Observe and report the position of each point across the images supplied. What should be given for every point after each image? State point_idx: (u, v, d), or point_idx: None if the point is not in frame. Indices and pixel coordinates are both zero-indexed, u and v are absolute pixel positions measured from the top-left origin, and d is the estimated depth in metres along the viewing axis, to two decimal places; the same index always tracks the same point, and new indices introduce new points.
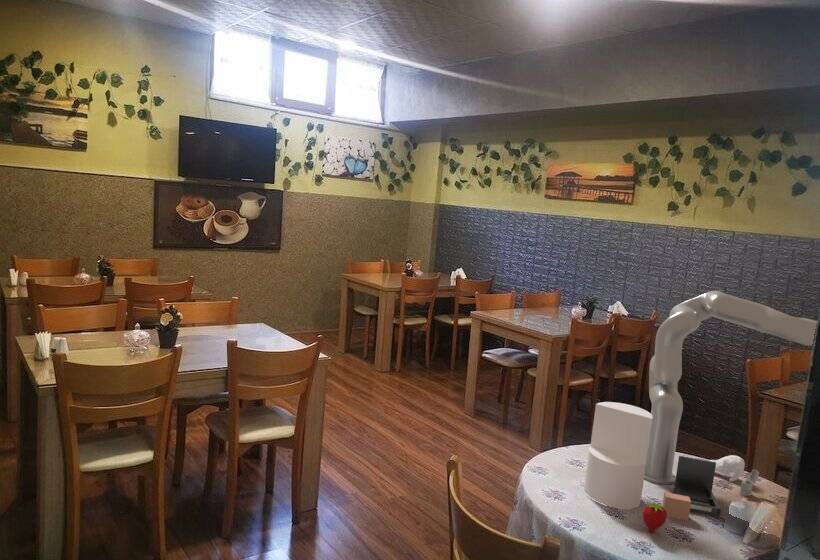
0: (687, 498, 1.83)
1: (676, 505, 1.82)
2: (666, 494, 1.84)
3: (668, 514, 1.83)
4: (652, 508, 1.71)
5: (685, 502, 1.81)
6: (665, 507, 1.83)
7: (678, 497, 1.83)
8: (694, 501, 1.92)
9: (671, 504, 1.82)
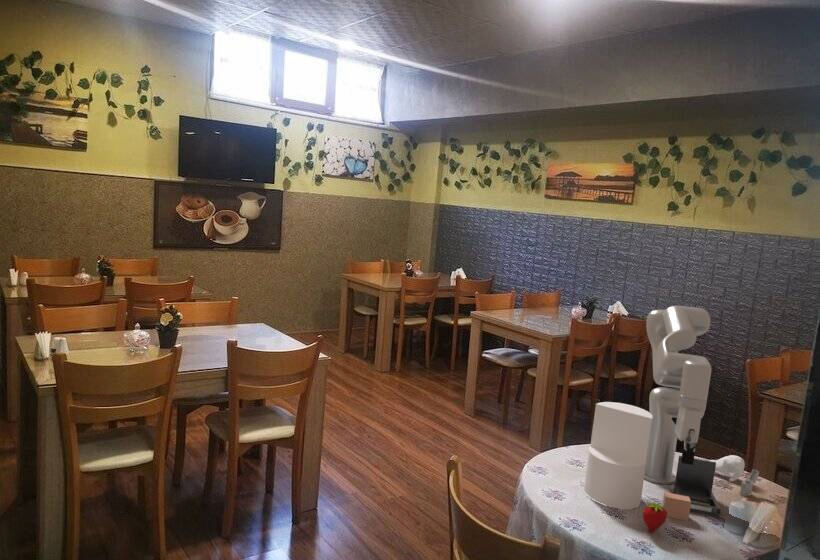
0: (687, 498, 1.83)
1: (676, 505, 1.82)
2: (666, 494, 1.84)
3: (668, 514, 1.83)
4: (652, 508, 1.71)
5: (685, 502, 1.81)
6: (665, 507, 1.83)
7: (678, 497, 1.83)
8: (694, 501, 1.92)
9: (671, 504, 1.82)
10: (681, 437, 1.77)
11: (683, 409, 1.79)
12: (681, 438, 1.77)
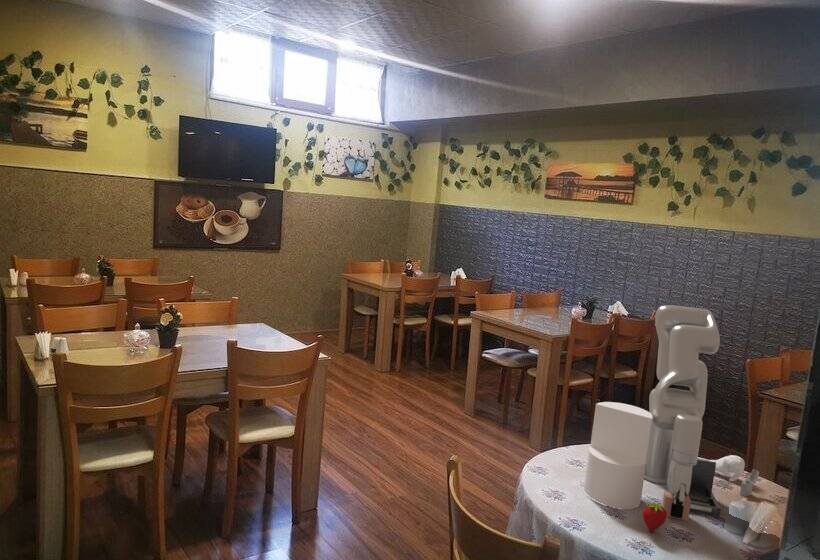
0: (687, 498, 1.83)
1: None
2: (666, 494, 1.84)
3: (668, 514, 1.83)
4: (652, 508, 1.71)
5: (685, 502, 1.81)
6: (665, 507, 1.83)
7: (678, 497, 1.83)
8: (694, 501, 1.92)
9: (671, 503, 1.82)
10: (672, 491, 1.79)
11: (674, 463, 1.81)
12: (672, 492, 1.79)
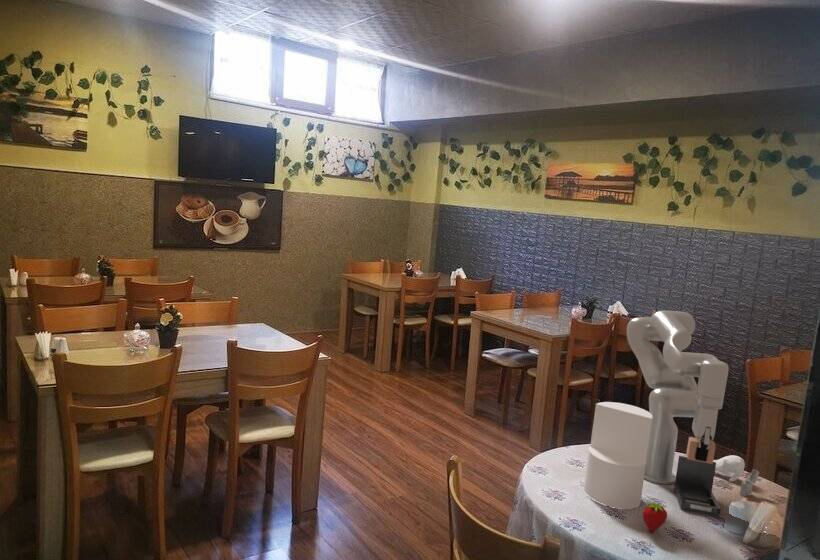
0: (711, 442, 1.86)
1: None
2: (691, 438, 1.88)
3: (693, 458, 1.86)
4: (652, 508, 1.71)
5: (709, 446, 1.84)
6: (690, 451, 1.86)
7: None
8: (694, 501, 1.92)
9: (696, 447, 1.86)
10: (697, 434, 1.82)
11: (699, 407, 1.84)
12: (697, 435, 1.82)
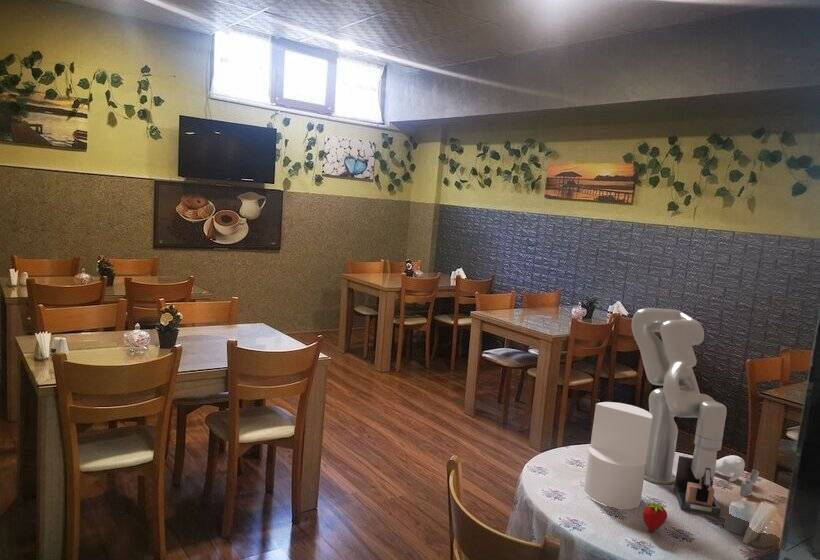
0: (710, 487, 1.89)
1: None
2: (690, 484, 1.90)
3: None
4: (652, 508, 1.71)
5: None
6: (689, 496, 1.89)
7: None
8: None
9: (695, 493, 1.88)
10: (697, 475, 1.85)
11: (699, 448, 1.87)
12: (697, 476, 1.85)
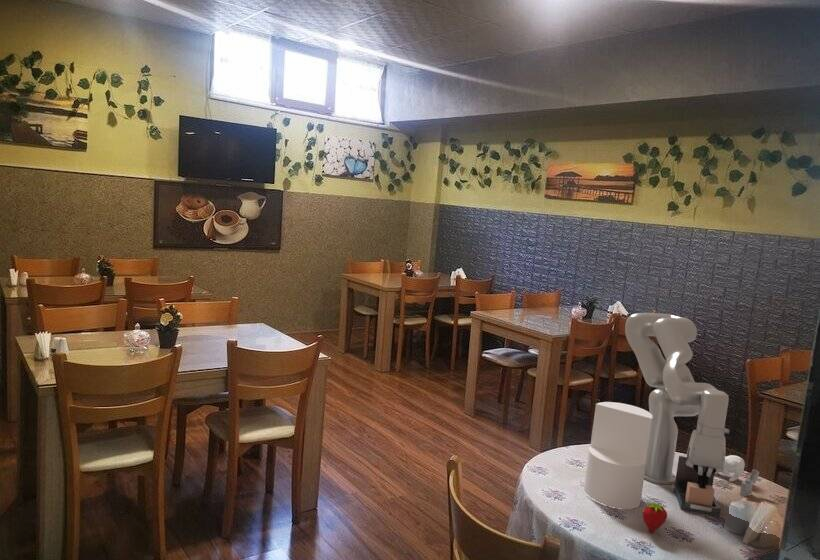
0: (710, 487, 1.89)
1: (700, 494, 1.88)
2: (690, 484, 1.90)
3: None
4: (652, 508, 1.71)
5: (708, 491, 1.88)
6: (689, 496, 1.89)
7: None
8: None
9: (695, 493, 1.88)
10: None
11: None
12: None
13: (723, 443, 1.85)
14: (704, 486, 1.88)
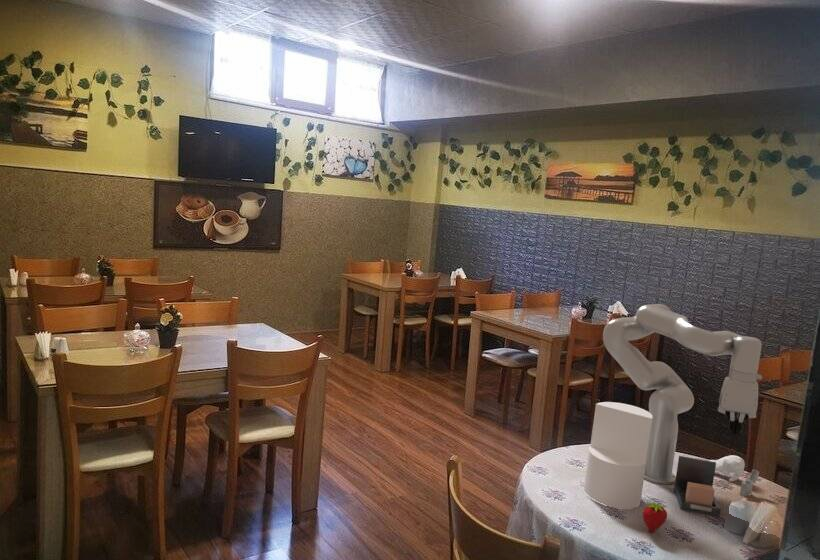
0: (710, 487, 1.89)
1: (700, 494, 1.88)
2: (690, 484, 1.90)
3: None
4: (652, 508, 1.71)
5: (708, 491, 1.88)
6: (689, 496, 1.89)
7: (702, 486, 1.89)
8: None
9: (695, 493, 1.88)
10: None
11: None
12: None
13: (756, 388, 1.86)
14: (736, 432, 1.89)
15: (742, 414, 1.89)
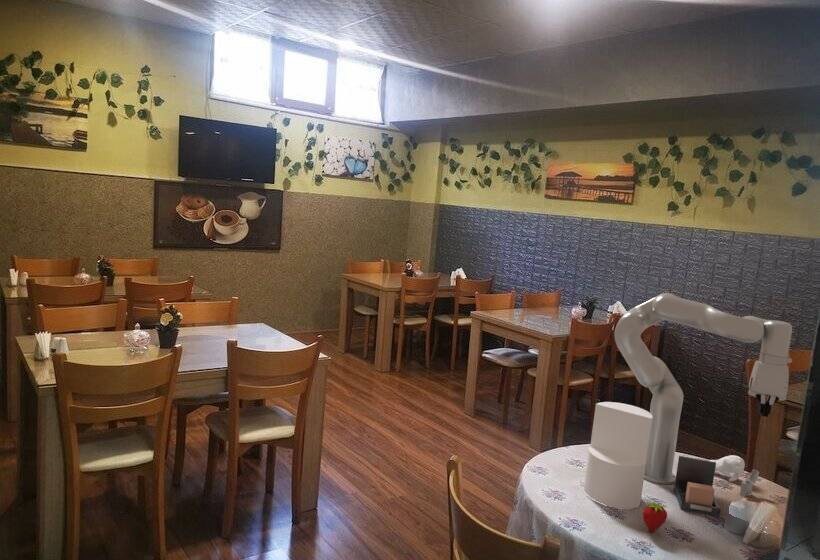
0: (710, 487, 1.89)
1: (700, 494, 1.88)
2: (690, 484, 1.90)
3: None
4: (652, 508, 1.71)
5: (708, 491, 1.88)
6: (689, 496, 1.89)
7: (702, 486, 1.89)
8: None
9: (695, 493, 1.88)
10: None
11: None
12: None
13: (786, 371, 1.90)
14: (767, 414, 1.93)
15: (773, 397, 1.93)
